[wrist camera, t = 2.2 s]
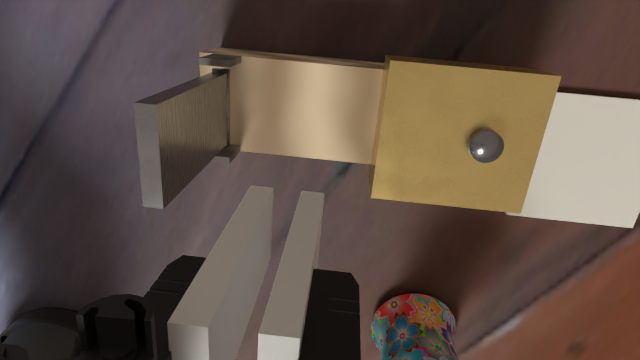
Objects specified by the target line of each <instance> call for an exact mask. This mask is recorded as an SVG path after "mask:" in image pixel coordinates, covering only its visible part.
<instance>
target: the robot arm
mask: <svg viewBox="0 0 640 360" xmlns="http://www.w3.org/2000/svg"><path fill="white" fill-rule="evenodd" d="M323 202H324V193H317V192H308V191H301V194H300V197H299V200H298V204H297V207H296V210H295V214H294V217H293V220H292V224H291V227H290V230H289V234H288V237H287V240H286V244H285V247H284V250H283V254H282V257H281V260H280V264H279V267H278V270H277V274H276V277H275V280H274V284H273V287H272V290H271V294H270V297H269V300H268V304H267V307H266V310H265V314H264V317H263V320H262V324H261V327H260V330H259V334H258V360H361V352H360V315H359V313H360V304H359V285H358V283H357V282H356V280H355V279H354V277H353V275H352V274H351V273H347V272H338V271H329V270H320V269H317V265H318V254H319V244H320V233H321V223H322V212H323ZM272 211H273V188H271V187H261V186H252V185H251V186H250V187H249V189H248V191H247V192H246V194H245V196H244V197H243V199H242V201H241V202H240V204H239V206H238V207H237V209H236V210H235V212H234V214H233V215H232V217H231V219H230V220H229V222H228V224H227V225H226V227H225V229H224V230H223V232H222V233H221V235H220V237H219V238H218V240H217V242H216V243H215V245H214V247H213V248H212V250H211V251H210V253H209V255H208V256H207V258H203V257H195V256H186V255H183V256H181V257H180V258H178V259H176V260H175V261H173V262H172V263H170V264H169V265H167V266H166V268H165V269H164V270H163V272H162V273H161V274H160V276H159V277H158V280H156V281H155V282H154V284H153V285H152V287H151V288H150V291H148V292H147V293H146V295H145V296H144V297H140V296H136V295H132V294H123V295H113V296H109V297H105V298H101V299H99V300H97V301H95V302H93V303H91V304H89V305H87V306H85V307H84V308H83V309H82V310H81V311H80V312H78V313H77V312H74V311H70V310H65V309H58V308H44V309H37V310H33V311H30V312H28V313H26V314H24V315H22V316H20V317H19V318H18V319H17V320H16V321H14V322H13V323H12V324H11V325H10V326H9V327H8V328H7V329H6V330H4V331H3V332H2V333H1V335H0V360H236V357H237V354H238V351H239V348H240V345H241V343H242V340H243V337H244V334H245V331H246V328H247V325H248V322H249V319H250V316H251V314H252V311H253V308H254V305H255V302H256V299H257V296H258V293H259V290H260V287H261V284H262V282H263V279H264V276H265V273H266V270H267V267H268V264H269V261H270V256H271V234H272Z"/></svg>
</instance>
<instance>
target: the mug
mask: <svg viewBox="0 0 640 360" xmlns="http://www.w3.org/2000/svg"><path fill="white" fill-rule="evenodd" d="M455 334H456V322H455V318H454V316H453V314H452V312H451V311H450V309H449V308H448V307H447V306H446V305H445V304H444V303H442V302H441V301H439V300H438V299H436V298H434V297H431V296H428V295H424V294H414V293H412V294H403V295H399V296H396V297H394V298H392V299H390V300H388V301H386V302H385V303H384V304H382V305H381V306H380V307H379V308H378V309H377V311H376V312H375V314H374V316H373V318H372V322H371V335H372V338H373V341H374V343H375V344H376V346H377V347H378V348H379V350H380V352H381V356H382V360H458V358H457V356H456V353H455V350H454V344H453V340H454V338H455Z"/></svg>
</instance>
